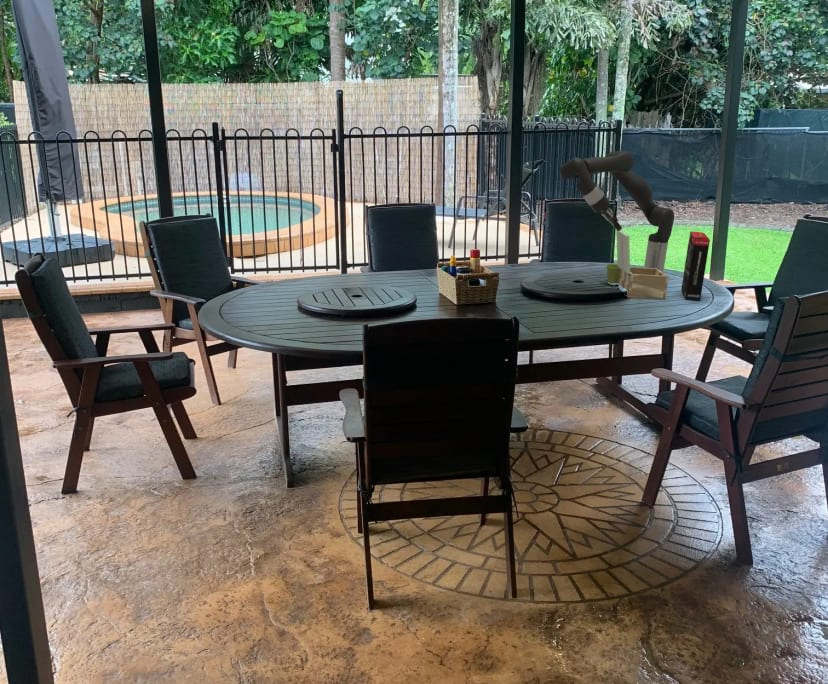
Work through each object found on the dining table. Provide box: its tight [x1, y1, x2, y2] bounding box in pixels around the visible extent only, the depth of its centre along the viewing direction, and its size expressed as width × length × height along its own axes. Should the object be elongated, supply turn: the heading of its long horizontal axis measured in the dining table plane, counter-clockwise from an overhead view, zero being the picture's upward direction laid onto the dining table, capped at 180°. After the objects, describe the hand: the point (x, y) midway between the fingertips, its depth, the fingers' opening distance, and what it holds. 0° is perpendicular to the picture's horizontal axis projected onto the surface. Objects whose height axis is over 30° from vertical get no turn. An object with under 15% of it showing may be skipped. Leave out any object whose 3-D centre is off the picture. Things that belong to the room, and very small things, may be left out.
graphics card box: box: [681, 230, 711, 301], centre depth 335 cm, size 17×7×27 cm, turn 168°
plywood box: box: [619, 266, 669, 300], centre depth 336 cm, size 16×16×10 cm
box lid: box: [615, 229, 631, 276], centre depth 332 cm, size 16×17×1 cm
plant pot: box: [605, 263, 621, 283], centre depth 350 cm, size 9×9×9 cm
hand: (620, 229), depth 330 cm, fingers closed
